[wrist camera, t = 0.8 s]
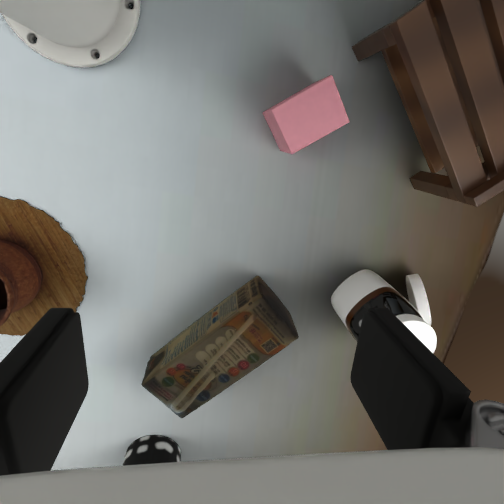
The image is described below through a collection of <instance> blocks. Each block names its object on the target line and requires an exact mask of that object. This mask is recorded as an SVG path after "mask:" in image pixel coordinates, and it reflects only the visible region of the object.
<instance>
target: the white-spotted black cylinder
mask: <svg viewBox="0 0 504 504" xmlns="http://www.w3.org/2000/svg"><path fill="white" fill-rule="evenodd" d="M180 460H181V450H180V448H179V446H178V444H177V443H176V442H175V441H173V440H172V439H170V438H168V437H164V436H159V435H150V436H145V437H142V438H139V439H137V440H136V441H134V442H133V443H132V444H131V445H130V446H129V447H128V449H127V452H126V456H125V459H124V463H123V466H126V465H141V464H156V463H172V462H180Z"/></svg>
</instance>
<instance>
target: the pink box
mask: <svg viewBox="0 0 504 504" xmlns="http://www.w3.org/2000/svg"><path fill="white" fill-rule="evenodd" d="M263 115H264V117H265V119H266V121H267V123H268V125H269V128H270V130H271V132H272V134H273V136H274V138H275V140H276V142H277V144H278V147H279V149H280V151H283V152H286V153H290V154H294V153H295V152H297V151H299V150H301V149H302V148H304V147H306V146H308V145H310V144H311V143H313V142H315V141H317V140H318V139H320V138H322V137H324V136H326V135H327V134H329V133H331V132H333V131H335V130H336V129H338V128H340V127H342V126H343V125H345V124H347V123H349V119H348V116H347V113H346V111H345V108H344V105H343V103H342V100H341V97H340V95H339V92H338V90H337V87H336V84H335V82H334V79H333V76H332V75H330V76H328V77H326V78H324V79H321V80H319V81H317V82H315V83H313V84H311V85H309V86H308V87H306V88H304V89H302V90H301V91H299V92H297V93H295V94H294V95H292V96H290V97H288V98H287V99H285V100H283V101H281V102H280V103H278V104H276V105H275V106H273V107H271V108H269V109H268V110H266V111H264V112H263Z"/></svg>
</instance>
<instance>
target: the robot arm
mask: <svg viewBox="0 0 504 504" xmlns="http://www.w3.org/2000/svg"><path fill="white" fill-rule="evenodd" d="M140 3H141V0H0V13H2V15H3V17H4V18H5V20H6V22H7V23H8V25H9V26H10V27H11V28H12V30H13V31H14V32H15V33H16V35H17V36H18V37H19V38H20V39H21V40H22V41H23V42H25V43H26V44H27V45H28V46H29V47H30V48H31V49H33V50H34V51H36V52H37V53H39V54H40V55H42V56H44V57H46V58H48V59H50V60H52V61H54V62H57V63H60V64H63V65H66V66H70V67H77V68H87V67H95V66H99V65H102V64H105V63H107V62H109V61H111V60H112V59H114V58H116V57H117V56H118V55H119V54H120V53H121V52H122V51H124V50H125V48H126V47H127V45H128V44H129V42H130V41H131V40H132V38H133V35H134V33H135V31H136V28H137V25H138V20H139V16H140ZM131 4H132V5H134V8H133V9H129V5H131ZM35 38H37V42H36V43H35V42H34V39H35ZM96 53H99V54H100V57H99V58H96V56H95V55H96ZM351 383H352V386H353V388H354V390H355V392H356V393H357V395H358V397H359V399H360V401H361V402H362V404H363V406H364V408H365V410H366V411H367V413H368V415H369V417H370V419H371V420H372V422H373V424H374V426H375V428H376V429H377V431H378V433H379V435H380V437H381V439H382V440H383V442H384V444H385V446H386V448H387V449H388V450H379V451H360V452H341V453H323V454H304V455H287V456H270V457H253V458H236V459H219V460H203V461H187V462H172V463H156V464H141V465H126V466H110V467H95V468H81V469H67V470H53V471H50V470H51V468H52V466H53V464H54V462H55V459H56V457H57V455H58V453H59V451H60V449H61V447H62V445H63V443H64V441H65V438H66V436H67V434H68V432H69V430H70V428H71V426H72V424H73V422H74V420H75V417H76V415H77V413H78V411H79V409H80V407H81V405H82V403H83V401H84V399H85V396H86V394H87V391H88V375H87V367H86V359H85V351H84V343H83V335H82V327H81V319H80V314H79V313H78V312H74V310H73V309H72V308H50V309H49V310H48V311H47V312H46V313H45V314H44V315H43V317H42V318H41V319H40V320H39V321H38V322H37V323H36V324H35V325H34V326H33V328H32V329H31V330H30V331H29V332H28V333H27V334H26V335H25V336H24V337H23V339H22V340H21V341H20V342H19V343H18V344H17V345H16V346H15V347H14V348H13V349H12V351H11V352H10V353H9V354H8V355H7V356H6V357H5V358H4V359H3V360H2V362H1V363H0V504H504V404H502V403H499V402H496V401H490V400H479V401H477V402H475V403H473V402H472V401H471V400H470V399H469V395H470V392H471V391H470V390H469V389H468V388H467V387H466V386H465V385H464V384H463V383H462V382H461V381H460V380H459V379H458V378H457V377H455V375H454V374H453V373H452V372H451V371H450V370H449V369H448V368H447V367H446V366H445V365H444V364H443V363H442V362H441V361H440V360H439V359H438V358H437V357H436V356H435V355H434V354H433V353H432V352H431V351H430V350H429V349H428V348H427V347H426V346H425V345H424V344H423V343H422V342H421V341H420V340H419V339H418V338H417V337H416V336H415V335H414V334H413V333H412V332H411V331H410V330H409V329H408V328H407V327H406V326H405V325H404V324H403V323H402V322H401V321H400V320H399V319H398V318H397V317H396V316H395V315H394V314H393V313H392V312H391V311H390V310H389V309H388V308H370V309H369V310H368V312H365V313H364V314H363V318H362V323H361V327H360V332H359V337H358V342H357V347H356V352H355V357H354V362H353V367H352V371H351Z"/></svg>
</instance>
